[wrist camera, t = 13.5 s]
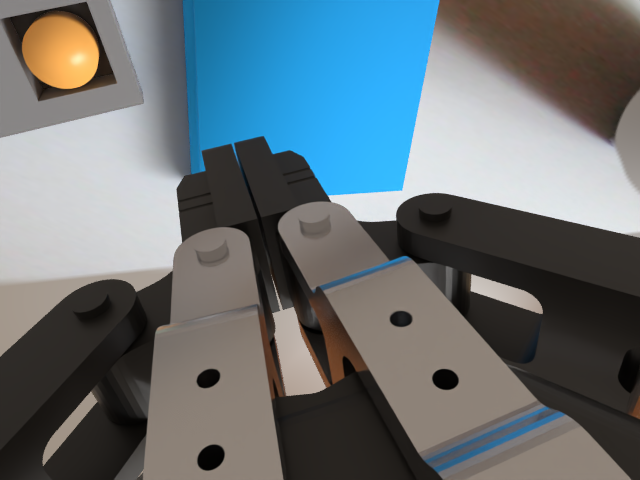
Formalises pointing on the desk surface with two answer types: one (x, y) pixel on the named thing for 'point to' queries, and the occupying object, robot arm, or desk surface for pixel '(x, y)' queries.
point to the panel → (56, 103)
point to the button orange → (61, 49)
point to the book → (310, 82)
